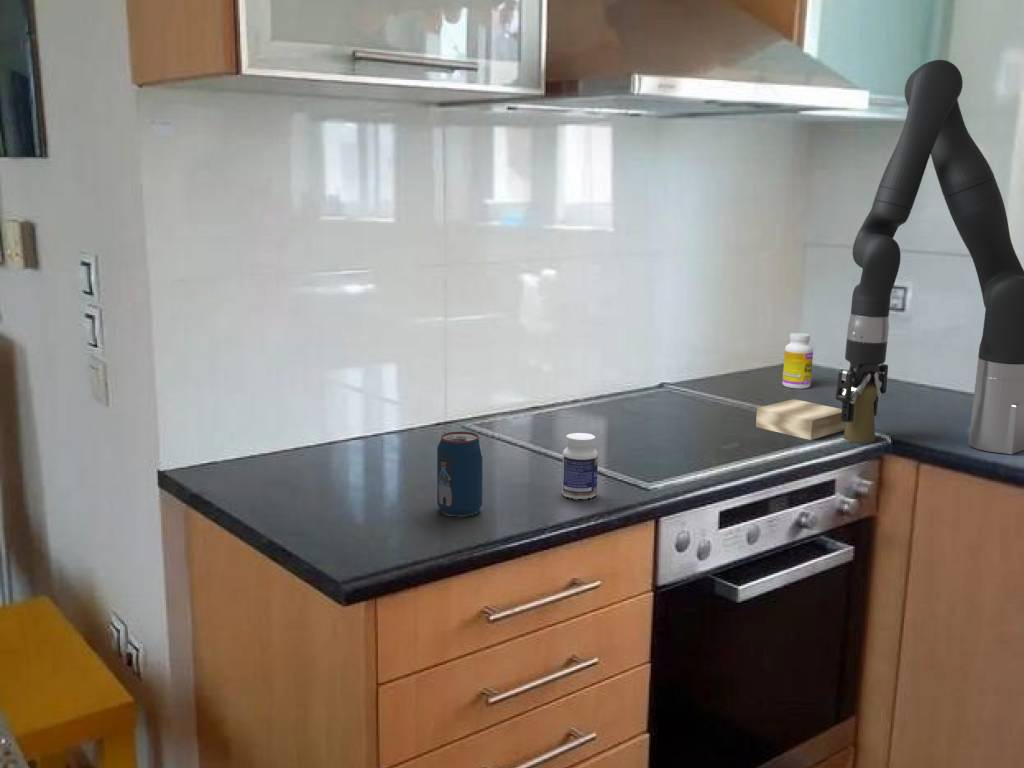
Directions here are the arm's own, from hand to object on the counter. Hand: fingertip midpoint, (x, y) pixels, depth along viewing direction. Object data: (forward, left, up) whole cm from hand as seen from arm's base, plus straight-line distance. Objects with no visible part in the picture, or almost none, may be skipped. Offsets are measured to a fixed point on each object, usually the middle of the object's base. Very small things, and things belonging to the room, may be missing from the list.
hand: (858, 418), depth 205 cm
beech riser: (+12, +2, -4) cm, 12 cm away
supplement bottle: (+36, -32, -4) cm, 48 cm away
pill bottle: (+9, +68, -4) cm, 69 cm away
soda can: (+15, +88, -4) cm, 90 cm away
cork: (-1, 0, -4) cm, 4 cm away
